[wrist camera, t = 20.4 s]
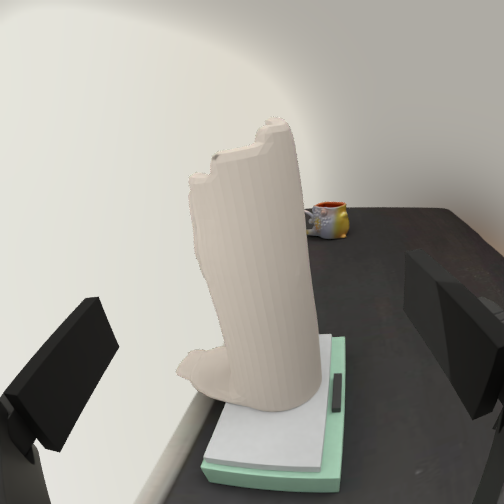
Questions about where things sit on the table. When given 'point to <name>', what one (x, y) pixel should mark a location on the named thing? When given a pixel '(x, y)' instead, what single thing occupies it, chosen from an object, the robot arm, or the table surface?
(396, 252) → the table surface
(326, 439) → the scale
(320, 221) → the mug
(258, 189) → the candle
